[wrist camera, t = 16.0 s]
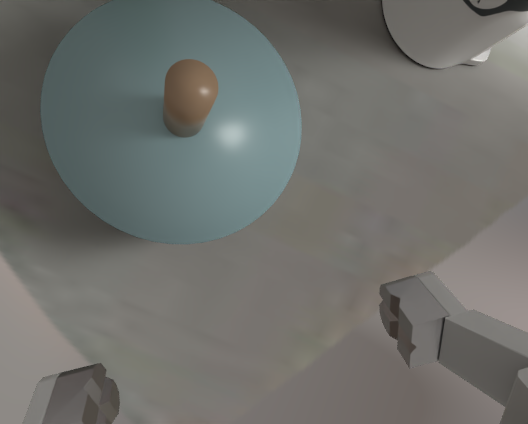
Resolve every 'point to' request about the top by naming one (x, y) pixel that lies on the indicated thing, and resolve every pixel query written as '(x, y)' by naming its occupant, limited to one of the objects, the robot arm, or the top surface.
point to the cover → (171, 118)
